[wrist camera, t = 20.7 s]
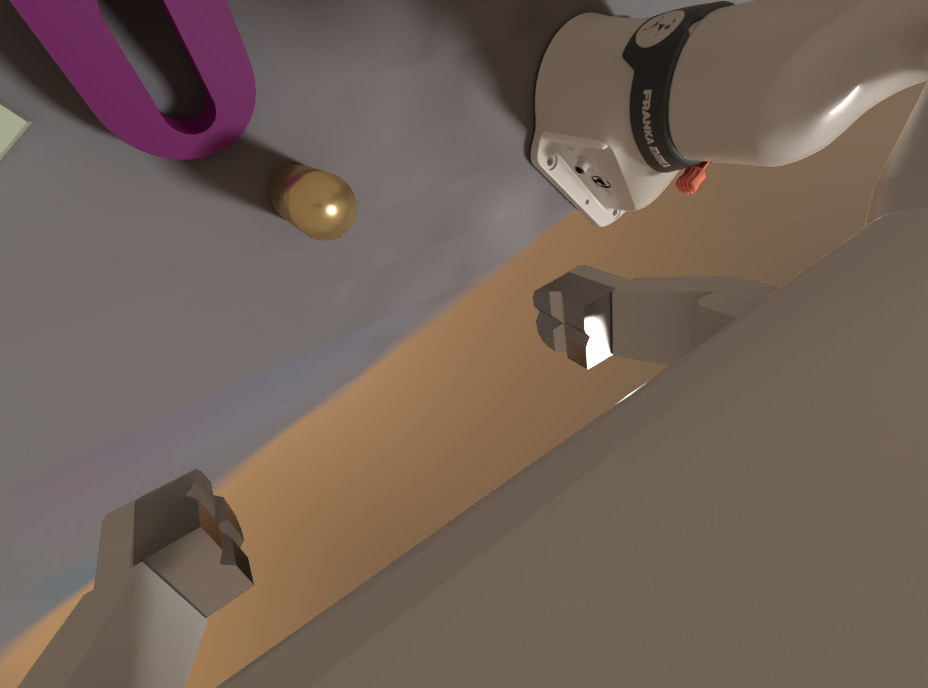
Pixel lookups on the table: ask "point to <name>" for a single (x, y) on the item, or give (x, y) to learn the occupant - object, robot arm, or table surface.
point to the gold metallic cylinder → (313, 201)
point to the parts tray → (11, 127)
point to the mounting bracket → (120, 90)
